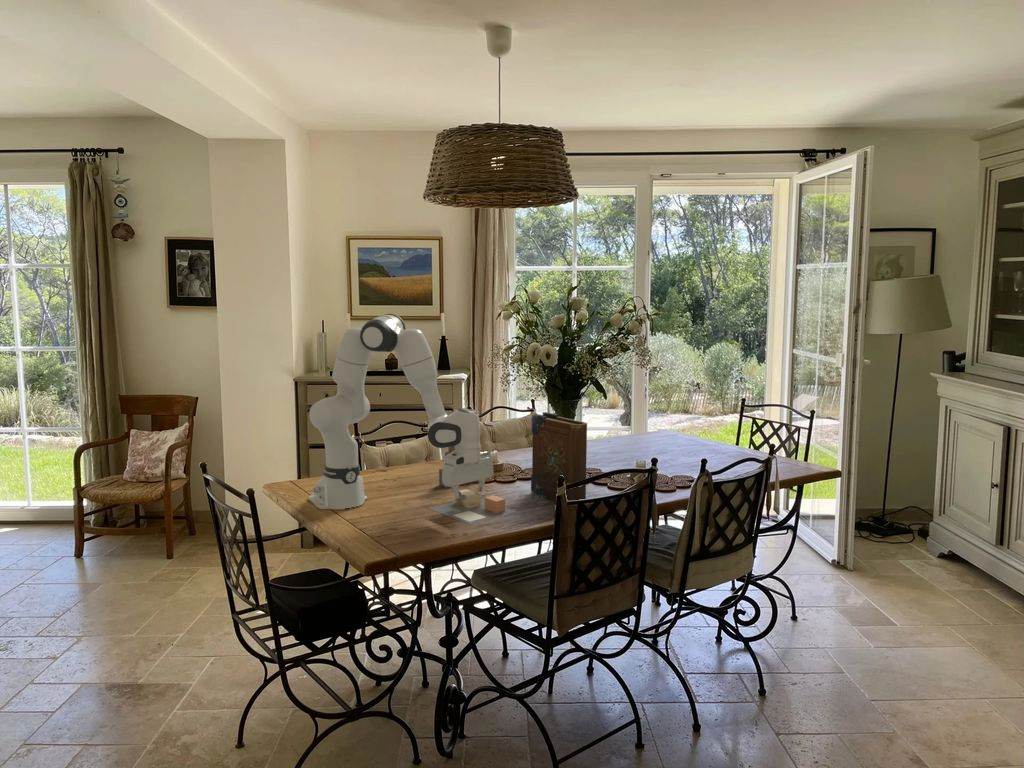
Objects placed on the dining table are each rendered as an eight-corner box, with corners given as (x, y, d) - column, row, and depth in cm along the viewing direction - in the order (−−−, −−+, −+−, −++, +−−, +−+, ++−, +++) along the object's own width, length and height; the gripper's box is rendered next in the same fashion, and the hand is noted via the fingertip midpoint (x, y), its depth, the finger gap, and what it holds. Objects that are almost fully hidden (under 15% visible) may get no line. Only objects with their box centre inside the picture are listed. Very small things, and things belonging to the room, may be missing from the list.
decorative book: (530, 493, 278) (531, 414, 274) (545, 490, 283) (545, 412, 279) (574, 508, 260) (575, 423, 256) (589, 504, 265) (590, 421, 261)
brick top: (484, 508, 255) (484, 497, 254) (493, 506, 257) (493, 495, 257) (496, 512, 250) (496, 501, 250) (505, 510, 253) (505, 499, 252)
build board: (428, 512, 256) (427, 507, 255) (473, 500, 269) (473, 496, 269) (469, 529, 239) (469, 524, 238) (516, 516, 252) (516, 511, 252)
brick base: (455, 503, 261) (455, 491, 261) (466, 500, 265) (466, 489, 264) (469, 508, 255) (469, 496, 255) (480, 505, 259) (480, 494, 258)
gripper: (485, 449, 266) (486, 486, 268) (438, 458, 253) (439, 498, 255) (497, 451, 261) (497, 490, 263) (449, 461, 248) (450, 502, 250)
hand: (468, 494), depth 259 cm, fingers open, 8 cm apart
